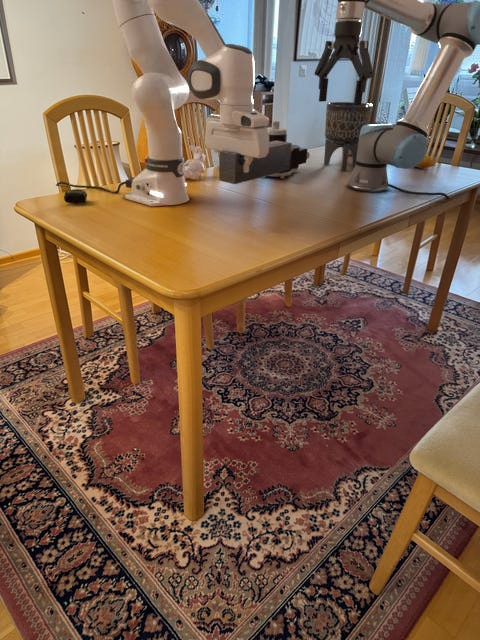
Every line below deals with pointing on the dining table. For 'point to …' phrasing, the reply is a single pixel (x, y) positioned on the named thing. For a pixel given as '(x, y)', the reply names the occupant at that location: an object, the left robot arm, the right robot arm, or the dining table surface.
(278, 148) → the bar
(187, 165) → the figurine
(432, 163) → the toy
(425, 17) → the right robot arm
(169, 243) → the dining table surface
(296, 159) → the mechanical component
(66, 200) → the tape measure
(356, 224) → the dining table surface
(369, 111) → the planter
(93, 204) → the dining table surface
